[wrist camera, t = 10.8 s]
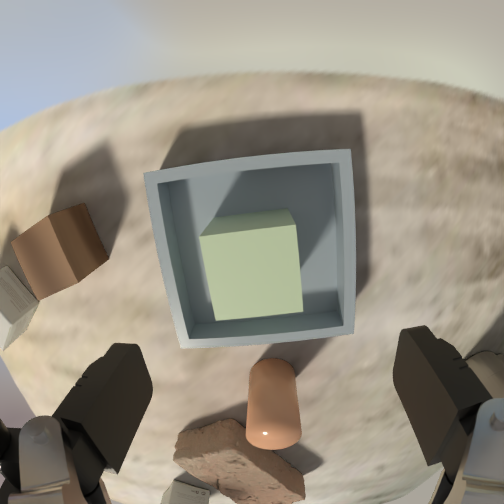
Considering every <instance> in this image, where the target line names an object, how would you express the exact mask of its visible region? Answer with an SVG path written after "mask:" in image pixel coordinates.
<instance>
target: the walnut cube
mask: <svg viewBox="0 0 504 504" xmlns="http://www.w3.org/2000/svg"><path fill="white" fill-rule="evenodd" d="M11 244H12V247H13V249H14V252H15V254H16V256H17V259H18V261H19V263H20V265H21V267H22V270H23V272H24V274H25V276H26V278H27V280H28V282H29V284H30V286H31V288H32V290H33V292H34V294H35V296H36V298H37V300H38V301H39V300H41V299H44V298H46V297H48V296H50V295H52V294H54V293H57V292H59V291H61V290H63V289H66V288H68V287H70V286H72V285H74V284H77V283H79V282H80V281H81V280H82V279H84V278H85V277H86V276H88V275H89V274H90V273H91V272H93V271H94V270H95V269H97V268H98V267H99V266H101V265H102V264H103V263H105V262H106V261H107V260H109V258H108V256H107V253H106V251H105V249H104V247H103V245H102V243H101V240H100V238H99V236H98V234H97V232H96V229H95V227H94V225H93V222H92V220H91V218H90V215H89V213H88V210H87V208H86V206H85V203H82V204H79V205H76V206H73V207H71V208H68V209H65V210H62V211H59V212H56V213H53V214H51V215H48V216H46V217H45V218H44V219H42V220H41V221H39V222H38V223H36V224H35V225H33V226H32V227H31V228H29V229H28V230H26V231H25V232H24V233H22V234H21V235H20V236H18V237H17V238H16V239H14V240H13V241H12V242H11Z"/></svg>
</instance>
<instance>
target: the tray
mask: <svg viewBox="0 0 504 504" xmlns="http://www.w3.org/2000/svg"><path fill="white" fill-rule="evenodd" d="M143 174H144V180H145V187H146V193H147V199H148V205H149V211H150V217H151V222H152V228H153V233H154V238H155V243H156V248H157V253H158V258H159V262H160V267H161V272H162V276H163V280H164V285H165V289H166V293H167V297H168V301H169V305H170V309H171V313H172V317H173V321H174V325H175V329H176V332H177V336H178V340H179V343H180V347H181V348H210V347H230V346H246V345H259V344H271V343H282V342H292V341H301V340H310V339H318V338H326V337H334V336H341V335H348V334H354V322H355V297H356V226H355V201H354V184H353V169H352V157H351V149H335V150H317V151H303V152H290V153H279V154H268V155H259V156H250V157H241V158H233V159H226V160H218V161H211V162H204V163H198V164H192V165H185V166H179V167H174V168H168V169H163V170H157V171H152V172H147V173H143ZM286 208H288V210H289V212H290V214H291V216H292V218H293V220H294V222H295V224H296V231H297V241H298V252H299V263H300V275H301V287H302V301H303V312H296V313H288V314H279V315H270V316H261V317H251V318H241V319H230V320H218V321H216V319H215V315H214V310H213V305H212V300H211V296H210V291H209V286H208V281H207V276H206V271H205V266H204V261H203V256H202V250H201V245H200V240H199V236H200V235H201V233H202V232H203V231H204V230H205V228H206V227H207V226H208V224H209V223H210V222H211V221H212V219H213V218H215V217H222V216H230V215H237V214H245V213H253V212H261V211H269V210H277V209H286Z"/></svg>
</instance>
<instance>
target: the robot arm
mask: <svg viewBox="0 0 504 504" xmlns="http://www.w3.org/2000/svg"><path fill="white" fill-rule="evenodd" d="M393 382H394V386H395V389H396V391H397V393H398V395H399V398H400V400H401V402H402V404H403V407H404V409H405V411H406V413H407V416H408V418H409V420H410V423H411V425H412V428H413V430H414V432H415V435H416V437H417V440H418V442H419V445H420V447H421V450H422V452H423V455H424V457H425V460H426V462H427V465H428V466H430V465H433V464H436V463H439V462H442V464H443V466H444V469H443V471H442V472H441V475H440V477H439V480H438V482H437V485H436V487H435V490H434V492H433V494H432V497H431V499H430V501H429V503H428V504H504V356H503V355H502V354H499V355H495V354H494V353H493V352H490V351H485V352H481V353H478V354H476V355H474V356H472V357H470V358H469V359H468V360H466V361H465V360H464V359H462V356H461V355H460V353H459V352H458V351H457V350H456V348H455V347H454V346H453V345H451V344H449V343H448V342H446V341H445V340H443V339H441V338H440V339H437V338H436V337H435V336H434V335H433V333H432V332H431V331H430V329H429V328H428V327H427V326H425V325H423V326H418V327H412V328H406V329H402V330H401V332H400V336H399V341H398V347H397V352H396V357H395V362H394V367H393ZM152 393H153V386H152V381H151V378H150V375H149V372H148V369H147V367H146V364H145V361H144V358H143V355H142V352H141V349H140V347H139V346H138V345H137V344H127V343H114V344H113V345H112V346H111V347H110V348H109V350H108V351H107V352H106V354H105V355H104V356H103V357H100V358H99V359H98V360H96V361H95V362H93V363H92V364H91V365H89V367H88V368H87V369H86V370H85V372H84V373H83V374H82V378H79V380H78V381H77V382H76V384H75V386H73V388H72V389H71V390H70V392H69V393H68V394H67V396H66V397H65V398H64V400H63V401H62V403H61V404H60V405H59V407H58V408H57V409H56V411H55V412H54V414H53V415H52V416H38V417H35V418H33V419H31V420H29V421H28V422H27V423H26V424H25V425H24V426H23V427H22V428H7V427H6V426H5V425H4V423H3V422H2V420H1V419H0V473H1V474H2V475H3V476H4V477H5V478H6V479H5V481H4V482H3V484H2V486H1V488H0V504H111V501H110V498H109V496H108V493H107V490H106V487H105V484H104V482H103V480H102V479H101V475H102V473H103V471H106V472H110V473H113V474H117V475H118V473H119V471H120V468H121V466H122V464H123V461H124V459H125V457H126V454H127V452H128V450H129V447H130V445H131V443H132V441H133V438H134V436H135V434H136V432H137V429H138V427H139V425H140V423H141V420H142V418H143V416H144V414H145V411H146V409H147V407H148V405H149V403H150V400H151V398H152Z"/></svg>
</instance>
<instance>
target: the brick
mask: <svg viewBox="0 0 504 504" xmlns="http://www.w3.org/2000/svg"><path fill="white" fill-rule="evenodd" d="M175 449H176V452H175V453H174V457H173V461H174V462H175V463H177V464H178V465H179V466H181V467H182V468H183V469H185V470H186V471H187V472H188V473H189V474H191V475H193V476H194V477H197V478H198V479H200V480H201V481H203V482H205V483H207V484H209V485H212V486H213V487H215V488H216V489H218V490H220V492H221V493H222V494H223V495H225V496H226V497H230V498H231V499H232V500H233V501H235V503H237V504H292V503H293V502H296V501H300V500H305V497H306V495H305V485H304V478H303V475H302V474H301V473H300V472H299V471H298V470H297V469H295V468H293V467H291V465H290V464H289V463H287V462H286V461H285V460H283V459H282V458H281V457H280V456H279V455H277V454H275V453H274V452H273V451H272V450H268V449H262V448H258V447H256V446H254V445H252V444H251V443H249V441H248V440H247V438H246V429H245V428H244V427H243V426H241V425H240V424H239V423H238V422H237V421H235V420H233V419H225V420H223V421H221V420H220V421H217V422H216V423H213V424H210V425H208V426H204V427H202V428H196V429H190V430H186V431H184V432H181V433H180V434H179V435H178V441H177V442H176V445H175Z"/></svg>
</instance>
